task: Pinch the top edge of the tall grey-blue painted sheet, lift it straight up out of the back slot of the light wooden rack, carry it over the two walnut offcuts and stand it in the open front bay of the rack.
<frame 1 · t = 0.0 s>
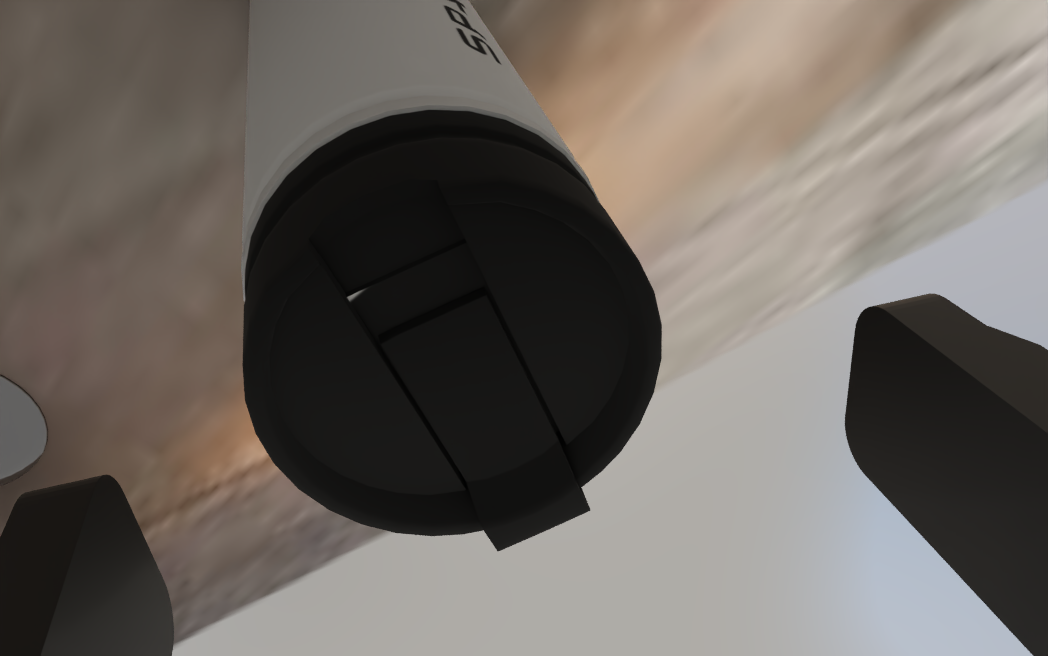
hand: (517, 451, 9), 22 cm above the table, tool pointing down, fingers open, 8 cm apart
travel mug: (353, 3, 27), on the table
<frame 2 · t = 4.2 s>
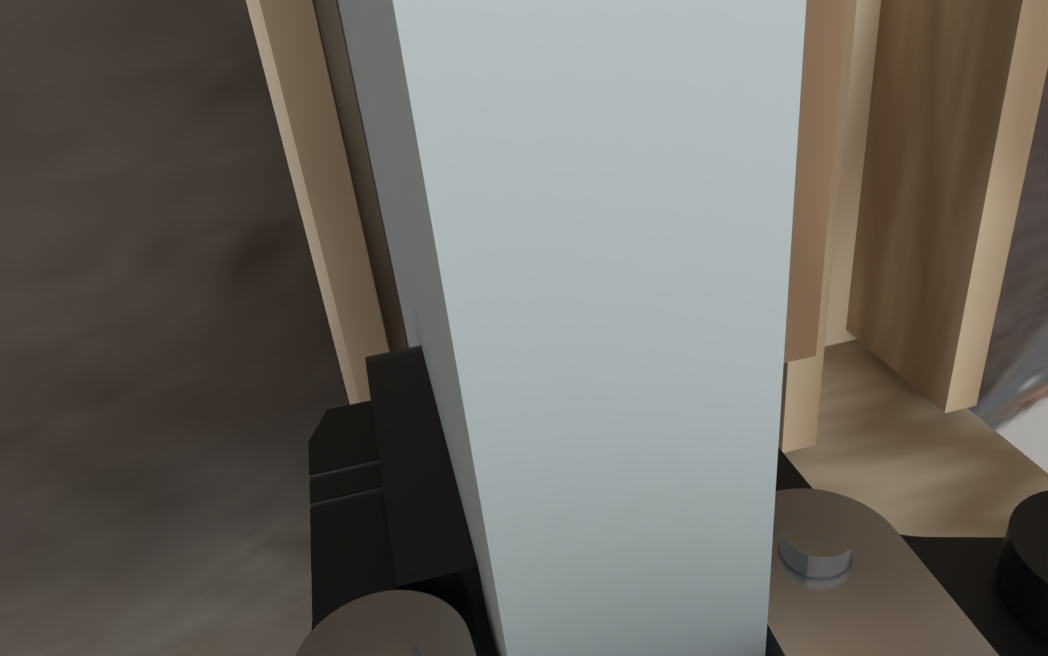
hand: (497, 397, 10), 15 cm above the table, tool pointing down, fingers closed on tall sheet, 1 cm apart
rack: (642, 59, 23), on the table
offcut 2: (662, 70, 22), point 1 cm above the table, touching rack
tall sheet: (392, 115, 21), point 2 cm above the table, touching gripper
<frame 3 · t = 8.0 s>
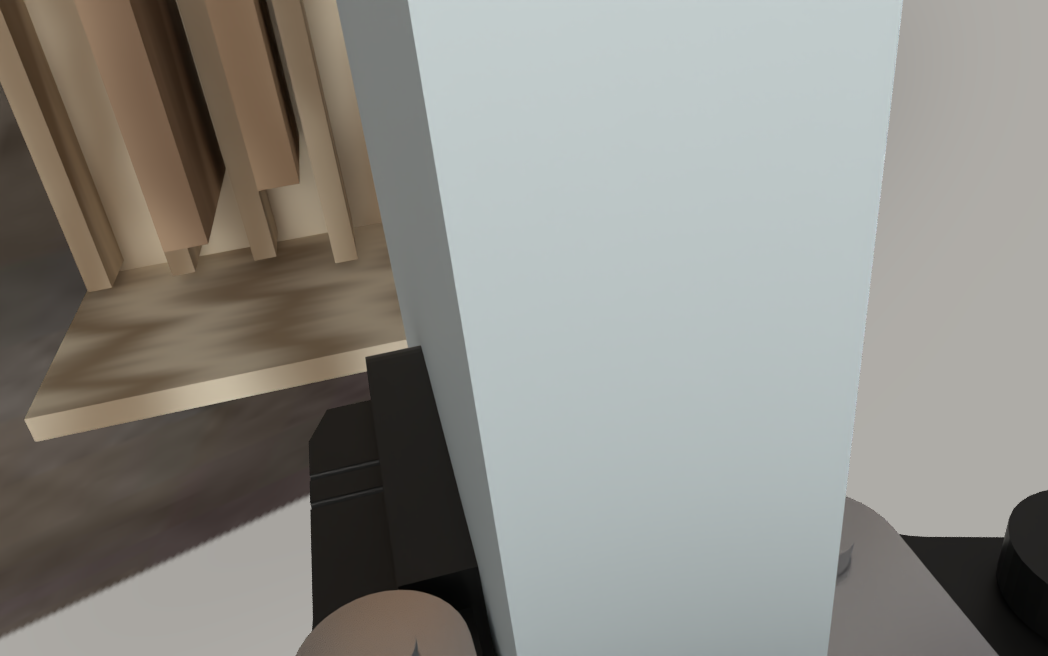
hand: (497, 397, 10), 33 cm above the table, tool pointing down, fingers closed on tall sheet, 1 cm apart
offcut 1: (166, 37, 35), point 1 cm above the table, touching rack
rack: (254, 18, 37), on the table
offcut 2: (252, 24, 36), point 1 cm above the table, touching rack
tall sheet: (395, 126, 21), point 20 cm above the table, touching gripper
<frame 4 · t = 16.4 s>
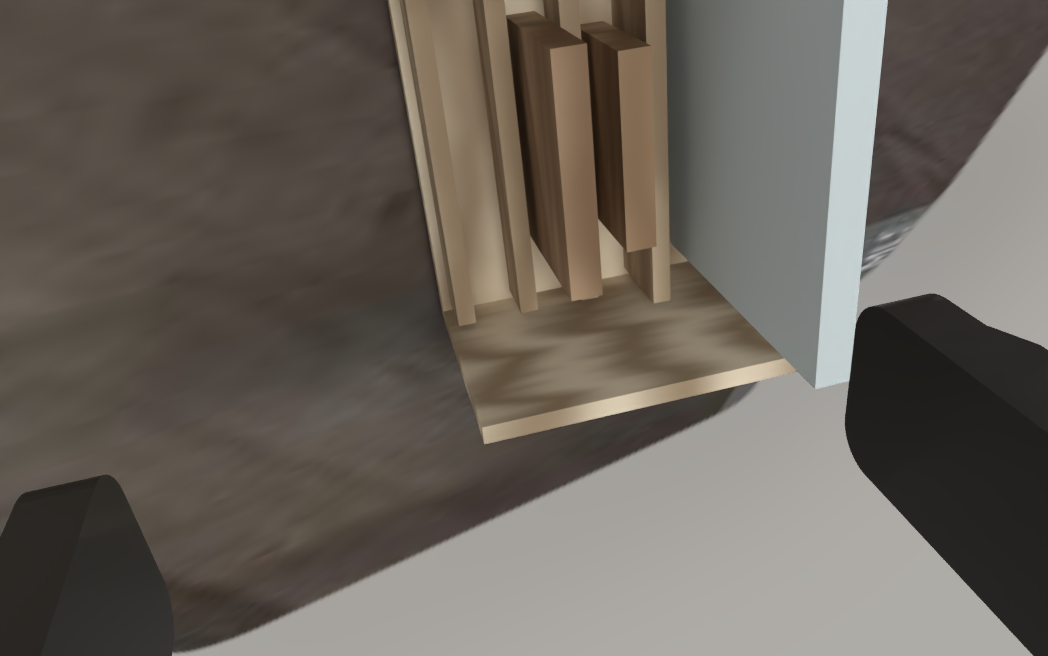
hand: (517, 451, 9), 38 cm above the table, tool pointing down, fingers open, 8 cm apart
offcut 1: (531, 128, 45), point 1 cm above the table, touching rack
rack: (586, 110, 47), on the table
offcut 2: (594, 117, 46), point 1 cm above the table, touching rack
tall sheet: (665, 94, 46), point 1 cm above the table, touching rack
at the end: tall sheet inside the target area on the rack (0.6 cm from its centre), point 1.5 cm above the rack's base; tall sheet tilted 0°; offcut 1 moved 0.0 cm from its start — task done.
